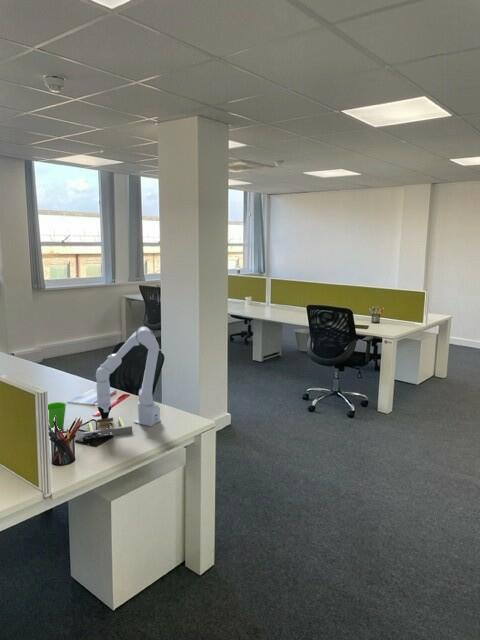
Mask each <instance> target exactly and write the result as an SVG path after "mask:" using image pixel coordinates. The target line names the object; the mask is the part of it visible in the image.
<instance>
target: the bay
mask: <svg viewBox="0 0 480 640" xmlns="http://www.w3.org/2000/svg"><path fill="white" fill-rule="evenodd" d="M117 420H118V425H119V426H116V427H115V428H111V429H101V430H99V429H95V430H94V426H93V425H92V421H89V422H90V423H88V422H87V423H88V426H89V427H88V430H90V431H83V438H84V437H85V436H88V435H91V434H93V433H101V434H108V433H109V432H112V434H113V435H114V436H120V435H127V434H128V435H129V434H132V433H133V425H132V424H129V425H125V422H124V421H123V419H122V417H118V419H117Z"/></svg>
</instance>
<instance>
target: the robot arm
mask: <svg viewBox="0 0 480 640" xmlns="http://www.w3.org/2000/svg"><path fill="white" fill-rule="evenodd" d="M140 344H141V345H142V346H144V347H145V348H146V349H147V350H148V351H147V355H146V362H145V369H144V373H143V379H142V380H143V381H142V383H141V387H140V388H139V390H138V402H137V416H138V419H136V420H135V421H134V423H135V424H139V425H143V426H148V427H153V426H154V425H156V424H157V423H159V422H161V421H162V419H161V415H160V414H161V413H160V411H161V410H160V407H159V405H157V404H156V403H155V401H154V396H153V388H154V387H153V385H154V381H155V374H156V369H157V362H158V356H159V352H160V346H159V343H158V341H157V339H156V337H155V335H154V333H153V331H152V330H151V329H150V328H149V327H147V326H145V325H144V326H140V327H138V329H137V330H136V331H135V332H133V333H132V334H131V336H129V338H128V339H127V340H126V341H125V342H124V344H123V345H122V346H121V347H120V348H119V349H118V351H117V352H116V353H111V354H110V355H108V356H107V357H106V359H105V361H104V362H103V363H101V364H100V365H99V367H98V368H97V369H96V372H95V380H96V398H97V400H96V401H97V402H94V407H97V411H98V412H99V414H100V419H106V418H109V416H110V412H111V410H112V406H111V405H112V401H111V385H110V384H111V383H110V375H111V374H113V373H114V372H115V371H116V369H117V368H118V367H119V366H120V365H121V364H122V362H123V361H122V358H123V357H124V356H125V355H126V354H127V353H128V352H129V351H131V350H132V348H133V347H137V346H140Z"/></svg>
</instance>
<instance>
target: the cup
mask: <svg viewBox="0 0 480 640" xmlns="http://www.w3.org/2000/svg"><path fill="white" fill-rule="evenodd" d="M47 404H48V410H49V420H48V424H49V428H50V429H51V428H53V427H54V424H53V419H54V417H55V415H56V416H57V426H58V428H59V429H62V430H63V429H64V424H65V418H66V417H65V416H66V414H65V413H66V407H67V403H66V402H63V401H55V402H50V403H47Z"/></svg>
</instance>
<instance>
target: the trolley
mask: <svg viewBox="0 0 480 640" xmlns="http://www.w3.org/2000/svg"><path fill="white" fill-rule="evenodd" d="M109 423H112V424H113V425H112V428H115V427H117V426H116V424H115V422H114V417H108V418H106V419H101V418H99V419H96V425H98V427H97V428H98V429H97V430H101V429H106V428H107V427H108V424H109Z"/></svg>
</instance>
